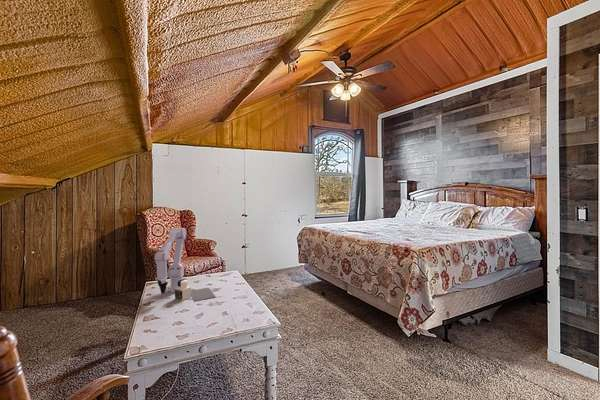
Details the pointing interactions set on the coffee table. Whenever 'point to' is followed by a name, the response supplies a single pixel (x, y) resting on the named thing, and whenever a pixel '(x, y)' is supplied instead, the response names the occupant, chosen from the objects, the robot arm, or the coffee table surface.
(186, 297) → the medicine box
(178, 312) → the coffee table surface
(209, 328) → the coffee table surface
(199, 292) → the grey flat slab
